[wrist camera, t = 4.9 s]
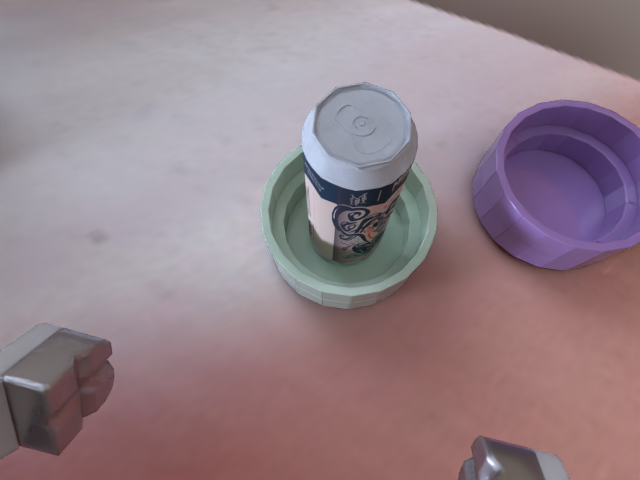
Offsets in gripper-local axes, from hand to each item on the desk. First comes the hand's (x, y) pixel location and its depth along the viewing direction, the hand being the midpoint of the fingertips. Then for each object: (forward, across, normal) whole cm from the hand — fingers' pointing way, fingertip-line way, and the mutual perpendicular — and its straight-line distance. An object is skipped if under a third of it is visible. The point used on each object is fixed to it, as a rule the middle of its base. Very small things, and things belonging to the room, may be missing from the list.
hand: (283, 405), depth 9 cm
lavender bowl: (+23, -13, 0) cm, 26 cm away
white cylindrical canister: (+18, 0, +4) cm, 19 cm away
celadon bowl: (+19, 0, +4) cm, 19 cm away
